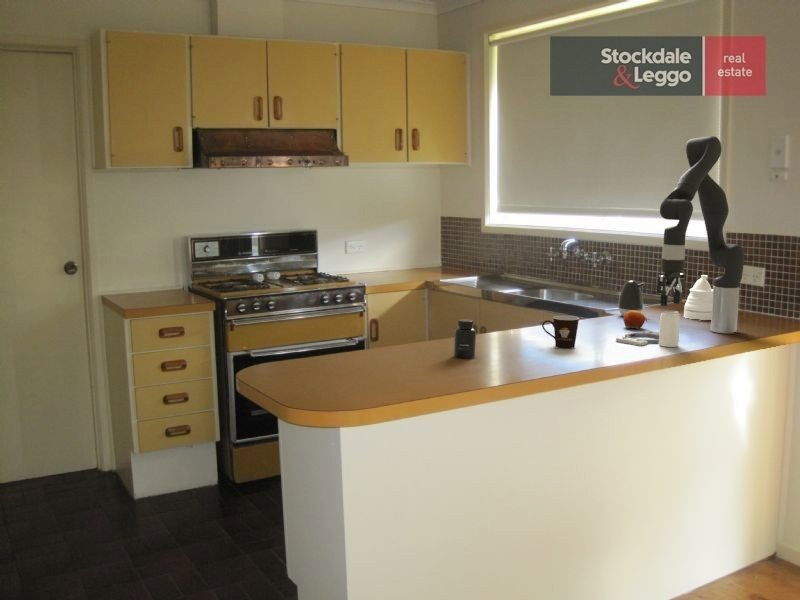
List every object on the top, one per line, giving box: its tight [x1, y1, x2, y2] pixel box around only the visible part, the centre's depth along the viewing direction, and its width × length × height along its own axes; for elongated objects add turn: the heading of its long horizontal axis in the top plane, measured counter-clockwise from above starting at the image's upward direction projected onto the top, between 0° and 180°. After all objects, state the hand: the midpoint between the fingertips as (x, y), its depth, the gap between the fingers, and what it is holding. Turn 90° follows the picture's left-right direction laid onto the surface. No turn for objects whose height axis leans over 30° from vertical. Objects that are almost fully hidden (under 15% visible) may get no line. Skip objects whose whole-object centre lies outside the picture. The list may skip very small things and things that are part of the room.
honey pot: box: [683, 274, 713, 321], centre depth 348 cm, size 13×13×18 cm
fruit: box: [623, 311, 647, 330], centre depth 324 cm, size 8×8×8 cm
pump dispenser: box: [617, 279, 646, 317], centre depth 350 cm, size 10×10×15 cm
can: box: [658, 309, 681, 348], centre depth 291 cm, size 6×6×12 cm
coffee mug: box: [541, 315, 580, 350], centre depth 289 cm, size 12×9×10 cm
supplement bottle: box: [453, 318, 477, 360], centre depth 271 cm, size 7×7×12 cm
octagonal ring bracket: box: [615, 330, 660, 347], centre depth 302 cm, size 22×13×1 cm, turn 133°
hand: (670, 304), depth 290 cm, fingers open, 8 cm apart
